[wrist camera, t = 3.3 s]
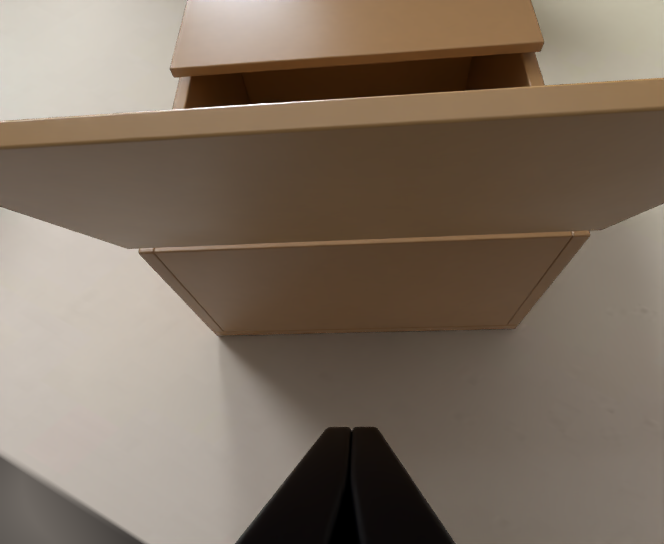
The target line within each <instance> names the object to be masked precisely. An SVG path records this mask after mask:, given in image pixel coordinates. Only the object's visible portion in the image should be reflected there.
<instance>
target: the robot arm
mask: <svg viewBox="0 0 664 544" xmlns="http://www.w3.org/2000/svg"><path fill="white" fill-rule="evenodd" d="M235 544H456V543H455V542H454V541H453V539H452V538H451V536H450V535H449V533H448V532H447V530H446V529H445V527H444V526H443V524H442V523H441V521H440V520H439V518H438V517H437V515H436V514H435V512H434V511H433V510H432V508H431V507H430V505H429V504H428V502H427V501H426V499H425V498H424V496H423V495H422V493H421V492H420V490H419V489H418V487H417V486H416V484H415V483H414V481H413V480H412V479H411V477H410V476H409V474H408V473H407V471H406V470H405V468H404V467H403V465H402V464H401V462H400V461H399V459H398V458H397V456H396V455H395V453H394V452H393V451H392V449H391V448H390V446H389V445H388V443H387V442H386V440H385V439H384V437H383V436H382V434H381V433H380V431H379V430H378V429H377V428H376V427H355V428H354V429H353V430H351V429H350V428H349V427H329V428H327V429H326V430H325V431H324V432H323V434H322V435H321V436H320V437H319V439H318V440H317V441H316V442H315V444H314V445H313V446H312V447H311V449H310V450H309V451H308V452H307V454H306V455H305V456H304V457H303V459H302V460H301V461H300V463H299V464H298V465H297V466H296V468H295V469H294V470H293V471H292V473H291V474H290V475H289V476H288V478H287V479H286V480H285V481H284V483H283V484H282V485H281V486H280V488H279V489H278V490H277V491H276V493H275V494H274V495H273V497H272V498H271V499H270V500H269V502H268V503H267V504H266V505H265V507H264V508H263V509H262V510H261V512H260V513H259V514H258V515H257V517H256V518H255V519H254V520H253V522H252V523H251V524H250V525H249V527H248V528H247V529H246V531H245V532H244V533H243V534H242V536H241V537H240V538H239V539H238V541H237V542H236V543H235Z"/></svg>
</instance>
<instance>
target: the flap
mask: <svg viewBox="0 0 664 544" xmlns="http://www.w3.org/2000/svg"><path fill="white" fill-rule="evenodd" d="M663 203H664V78H654V79H638V80H623V81H607V82H592V83H577V84H561V85H546V86H531V87H515V88H500V89H484V90H469V91H454V92H438V93H423V94H408V95H392V96H377V97H361V98H346V99H331V100H315V101H300V102H284V103H269V104H254V105H238V106H223V107H208V108H192V109H177V110H161V111H146V112H131V113H115V114H100V115H85V116H69V117H54V118H38V119H23V120H8V121H0V207H3V208H6V209H9V210H12V211H15V212H18V213H21V214H24V215H27V216H30V217H33V218H36V219H39V220H42V221H45V222H48V223H51V224H54V225H57V226H60V227H63V228H66V229H69V230H72V231H75V232H79V233H82V234H85V235H88V236H91V237H94V238H97V239H100V240H103V241H106V242H109V243H112V244H115V245H118V246H121V247H124V248H127V249H138V248H163V247H188V246H213V245H238V244H263V243H288V242H314V241H339V240H364V239H389V238H414V237H439V236H464V235H490V234H515V233H540V232H565V231H590V230H602V229H605V228H607V227H609V226H612V225H614V224H616V223H619V222H621V221H623V220H626V219H628V218H630V217H633V216H635V215H637V214H640V213H642V212H644V211H647V210H649V209H652V208H654V207H656V206H659V205H661V204H663Z"/></svg>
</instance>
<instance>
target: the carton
mask: <svg viewBox="0 0 664 544" xmlns="http://www.w3.org/2000/svg"><path fill="white" fill-rule="evenodd" d="M543 44H544V39H543V36H542V33H541V30H540V27H539V24H538V21H537V18H536V15H535V12H534V9H533V6H532V3H531V0H187V3H186V7H185V11H184V15H183V19H182V22H181V26H180V30H179V34H178V38H177V42H176V46H175V50H174V54H173V58H172V62H171V66H170V70H171V73H172V75H173V77H180V78H179V83H178V87H177V91H176V95H175V100H174V104H173V108H172V110H177V109H192V108H208V107H223V106H238V105H254V104H269V103H284V102H300V101H315V100H331V99H346V98H361V97H377V96H392V95H408V94H423V93H438V92H454V91H469V90H484V89H500V88H515V87H531V86H545V84H544V81H543V78H542V75H541V71H540V68H539V65H538V61H537V58H536V55H535V52H540V51H541V49H542V46H543ZM589 237H590V232H589V231H565V232H540V233H515V234H490V235H464V236H439V237H414V238H389V239H364V240H339V241H314V242H288V243H263V244H238V245H213V246H188V247H163V248H139V254H140V255H141V256H142V258H143V259H144V260H145V261H146V262H147V263H148V264H149V265H150V266H151V267H152V268H153V269H154V270H155V271H156V272H157V273H158V274H159V275H160V276H161V277H162V279H163V280H164V281H165V282H166V283H167V284H168V285H169V286H170V287H171V288H172V289H173V290H174V291H175V292H176V293H177V294H178V295H179V296H180V297H181V298H182V300H183V301H184V302H185V303H186V304H187V305H188V306H189V307H190V308H191V309H192V310H193V311H194V312H195V313H196V314H197V315H198V316H199V317H200V318H201V319H202V321H203V322H204V323H205V324H206V325H207V326H208V327H209V328H210V329H211V330H212V331H213V332H214V333H215V334H216V335H217V336H226V335H268V334H311V333H354V332H397V331H440V330H483V329H515V328H516V327H517V326H518V324H520V322H521V321H522V320H523V319H524V317H525V316H526V315H527V314H528V312H529V311H530V310H531V309H532V307H533V306H534V305H535V304H536V302H537V301H538V300H539V299H540V297H541V296H542V295H543V294H544V293H545V291H546V290H547V289H548V288H549V286H550V285H551V284H552V283H553V281H554V280H555V279H556V278H557V276H558V275H559V274H560V273H561V271H562V270H563V269H564V268H565V267H566V265H567V264H568V263H569V262H570V260H571V259H572V258H573V257H574V255H575V254H576V253H577V252H578V250H579V249H580V248H581V247H582V245H583V244H584V243H585V242H586V241H587V239H588V238H589Z"/></svg>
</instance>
